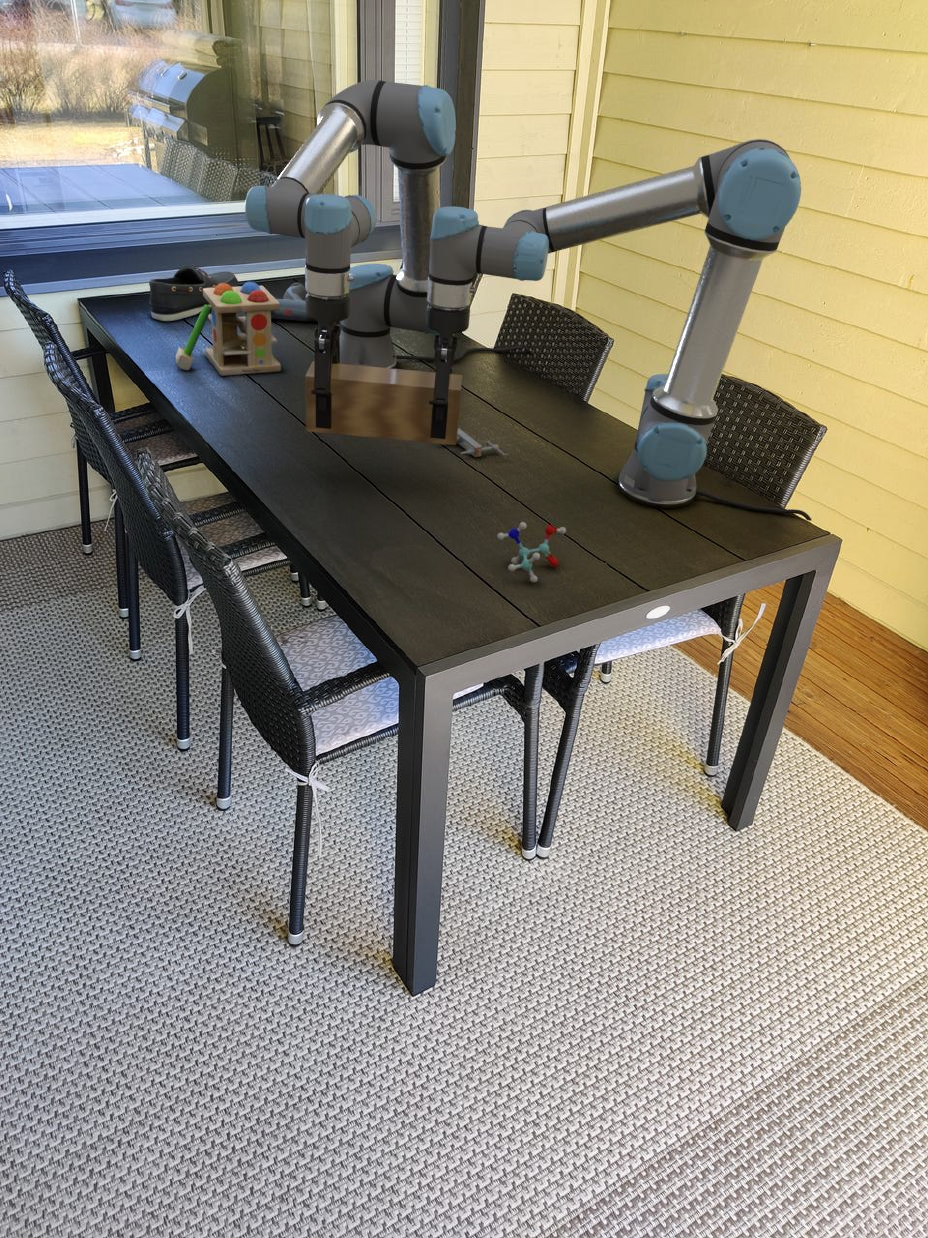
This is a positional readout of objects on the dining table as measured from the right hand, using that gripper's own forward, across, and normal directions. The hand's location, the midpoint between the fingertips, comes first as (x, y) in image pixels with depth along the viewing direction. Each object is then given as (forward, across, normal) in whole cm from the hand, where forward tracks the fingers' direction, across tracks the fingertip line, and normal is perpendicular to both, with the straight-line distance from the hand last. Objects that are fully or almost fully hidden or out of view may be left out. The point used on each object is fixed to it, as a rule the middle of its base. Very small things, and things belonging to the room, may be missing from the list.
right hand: (439, 426), depth 181 cm
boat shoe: (+12, +94, +71) cm, 118 cm away
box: (+2, 0, +10) cm, 10 cm away
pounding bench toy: (+12, +53, +53) cm, 76 cm away
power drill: (+12, +97, +42) cm, 106 cm away
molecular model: (+12, -27, -17) cm, 35 cm away
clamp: (+12, +18, -6) cm, 22 cm away
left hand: (0, 0, +21) cm, 21 cm away
